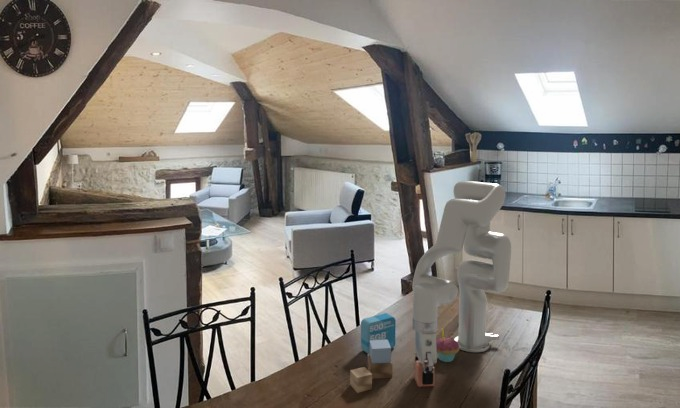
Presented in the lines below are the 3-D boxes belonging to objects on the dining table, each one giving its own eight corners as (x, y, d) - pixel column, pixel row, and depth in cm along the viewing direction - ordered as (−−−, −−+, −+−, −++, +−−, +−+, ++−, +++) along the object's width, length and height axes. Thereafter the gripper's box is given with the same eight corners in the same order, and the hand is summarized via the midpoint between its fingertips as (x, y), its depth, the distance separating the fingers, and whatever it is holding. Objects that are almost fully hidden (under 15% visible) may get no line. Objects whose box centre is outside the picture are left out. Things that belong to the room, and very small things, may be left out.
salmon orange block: (429, 377, 158) (430, 360, 157) (434, 385, 153) (434, 367, 152) (414, 378, 158) (414, 360, 157) (418, 386, 153) (418, 368, 152)
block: (364, 381, 156) (364, 366, 155) (372, 389, 152) (372, 374, 151) (350, 385, 154) (350, 370, 153) (357, 393, 150) (357, 377, 149)
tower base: (388, 366, 165) (388, 352, 164) (392, 377, 158) (392, 363, 157) (367, 367, 165) (367, 354, 164) (370, 379, 158) (370, 364, 157)
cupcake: (444, 367, 164) (445, 333, 162) (428, 356, 172) (428, 323, 170) (464, 360, 168) (465, 327, 166) (447, 350, 176) (448, 318, 174)
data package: (367, 356, 172) (367, 323, 170) (360, 351, 176) (360, 319, 174) (395, 347, 178) (395, 316, 176) (388, 342, 182) (388, 312, 180)
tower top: (387, 353, 164) (387, 339, 163) (390, 362, 158) (391, 347, 157) (369, 354, 163) (369, 340, 162) (372, 363, 157) (372, 348, 157)
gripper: (445, 335, 144) (443, 390, 147) (429, 312, 161) (428, 362, 164) (419, 336, 143) (418, 391, 146) (407, 313, 160) (406, 363, 163)
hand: (423, 375), depth 155 cm, fingers open, 9 cm apart
